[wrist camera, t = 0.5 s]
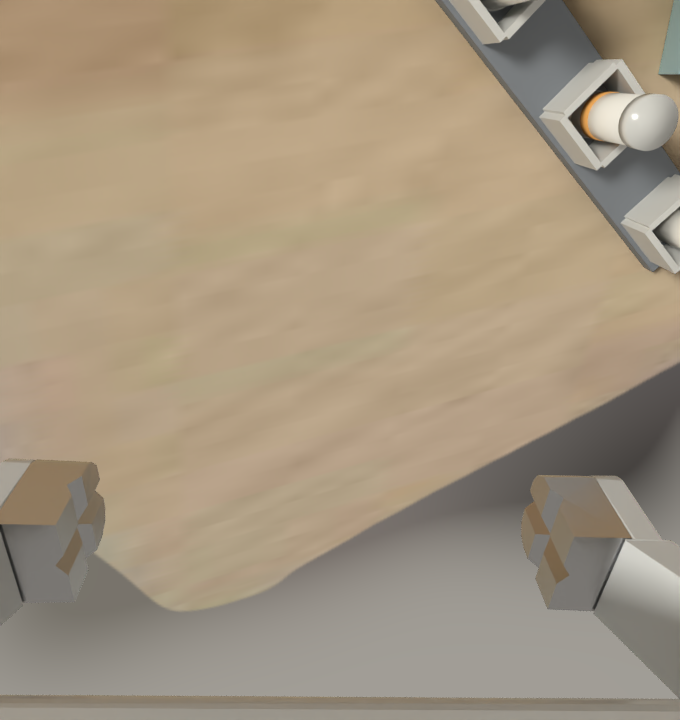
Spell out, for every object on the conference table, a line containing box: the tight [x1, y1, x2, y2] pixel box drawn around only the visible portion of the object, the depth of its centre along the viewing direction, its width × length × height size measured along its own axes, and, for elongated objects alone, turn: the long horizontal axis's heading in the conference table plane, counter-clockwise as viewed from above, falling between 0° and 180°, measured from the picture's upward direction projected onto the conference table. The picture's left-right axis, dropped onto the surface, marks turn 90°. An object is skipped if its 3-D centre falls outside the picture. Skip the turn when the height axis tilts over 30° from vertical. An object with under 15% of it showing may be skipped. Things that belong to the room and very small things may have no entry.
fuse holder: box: [435, 0, 680, 274], centre depth 50 cm, size 7×35×6 cm, turn 46°
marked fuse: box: [568, 90, 678, 151], centre depth 46 cm, size 4×4×10 cm
